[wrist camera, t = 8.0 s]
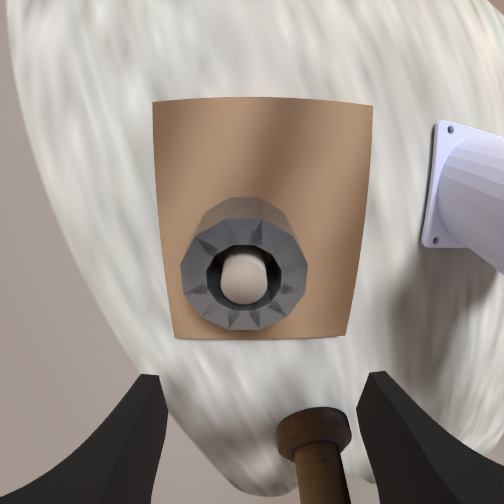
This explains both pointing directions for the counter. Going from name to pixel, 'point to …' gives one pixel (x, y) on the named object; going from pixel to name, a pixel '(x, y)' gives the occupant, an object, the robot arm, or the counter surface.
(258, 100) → the post board
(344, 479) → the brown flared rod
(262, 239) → the hub ring
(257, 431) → the counter surface
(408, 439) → the robot arm
